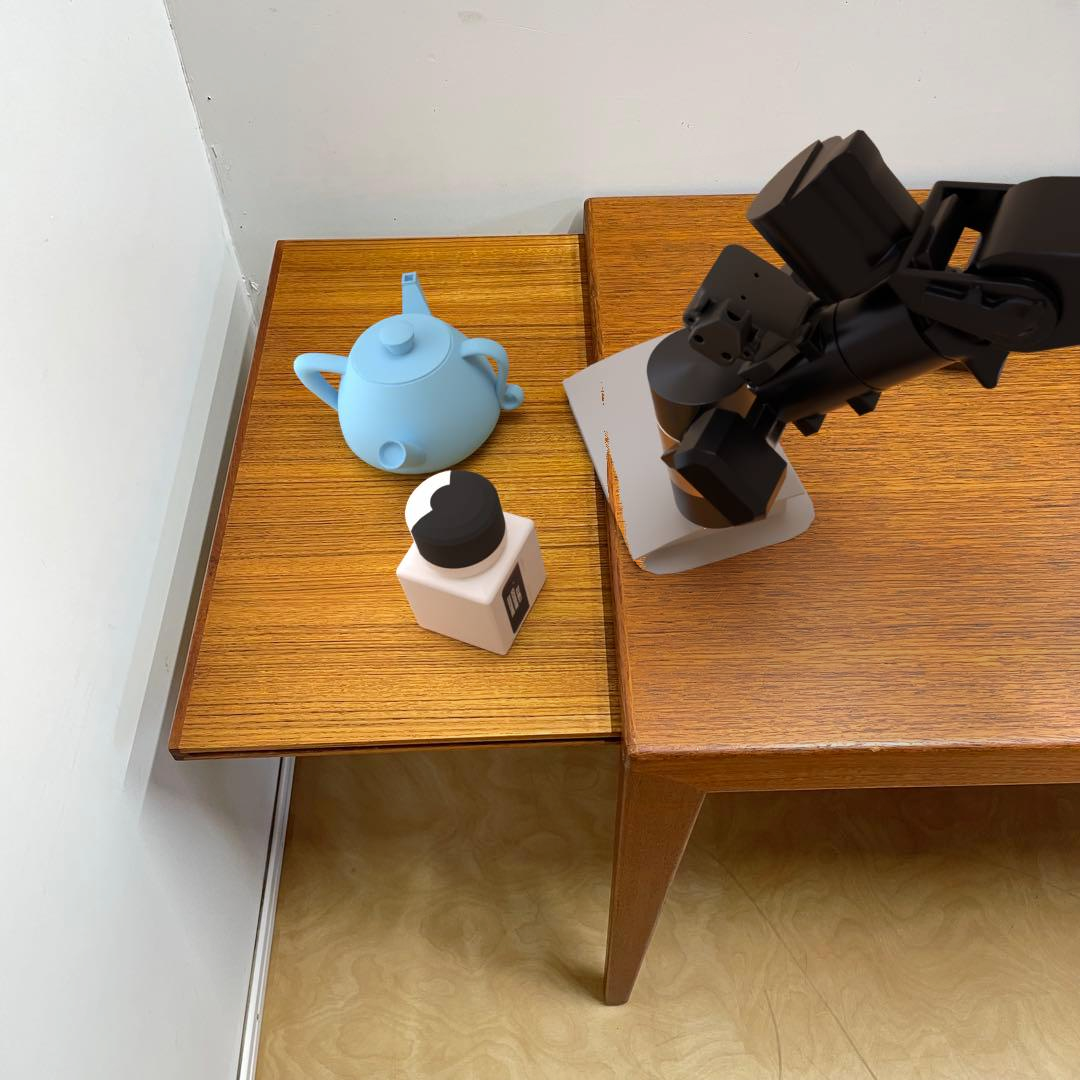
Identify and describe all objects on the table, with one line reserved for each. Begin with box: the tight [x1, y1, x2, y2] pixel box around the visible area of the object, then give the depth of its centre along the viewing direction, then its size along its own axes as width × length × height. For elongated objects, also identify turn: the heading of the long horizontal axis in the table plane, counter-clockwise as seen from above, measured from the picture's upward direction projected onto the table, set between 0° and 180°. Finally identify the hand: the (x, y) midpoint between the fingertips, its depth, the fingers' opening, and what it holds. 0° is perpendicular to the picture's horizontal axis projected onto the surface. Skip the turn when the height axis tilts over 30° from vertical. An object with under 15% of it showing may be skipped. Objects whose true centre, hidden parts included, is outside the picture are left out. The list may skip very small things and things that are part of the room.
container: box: [395, 469, 547, 656], centre depth 72 cm, size 8×8×13 cm
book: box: [561, 326, 816, 576], centre depth 82 cm, size 15×23×4 cm, turn 15°
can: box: [647, 327, 756, 529], centre depth 67 cm, size 7×7×14 cm
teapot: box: [293, 271, 525, 475], centre depth 85 cm, size 15×17×11 cm
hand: (687, 424), depth 67 cm, fingers closed on can, 7 cm apart
